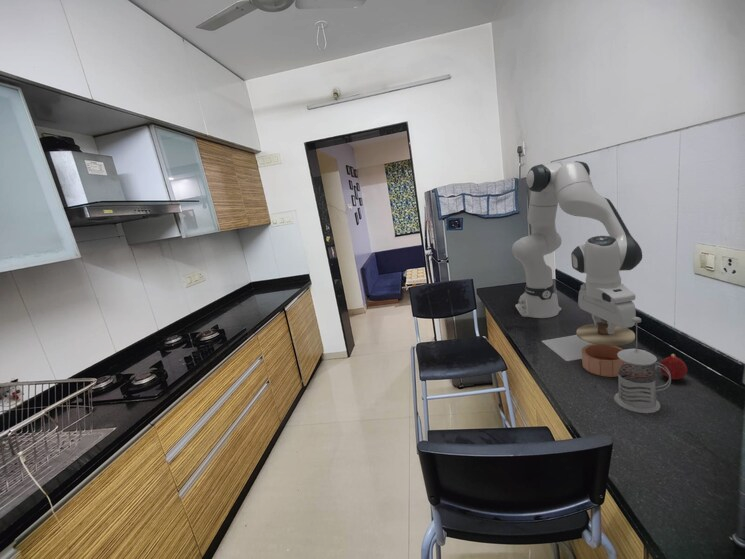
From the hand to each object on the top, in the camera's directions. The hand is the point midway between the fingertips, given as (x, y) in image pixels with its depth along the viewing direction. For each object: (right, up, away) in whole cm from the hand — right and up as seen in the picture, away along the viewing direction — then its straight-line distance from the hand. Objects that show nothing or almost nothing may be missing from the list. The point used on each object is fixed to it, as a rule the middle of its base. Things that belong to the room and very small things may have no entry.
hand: (604, 330), depth 100 cm
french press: (-1, -18, -14) cm, 23 cm away
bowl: (+2, -13, +3) cm, 13 cm away
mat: (+2, -9, +18) cm, 20 cm away
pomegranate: (+14, -13, -8) cm, 21 cm away
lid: (0, -2, 0) cm, 2 cm away
